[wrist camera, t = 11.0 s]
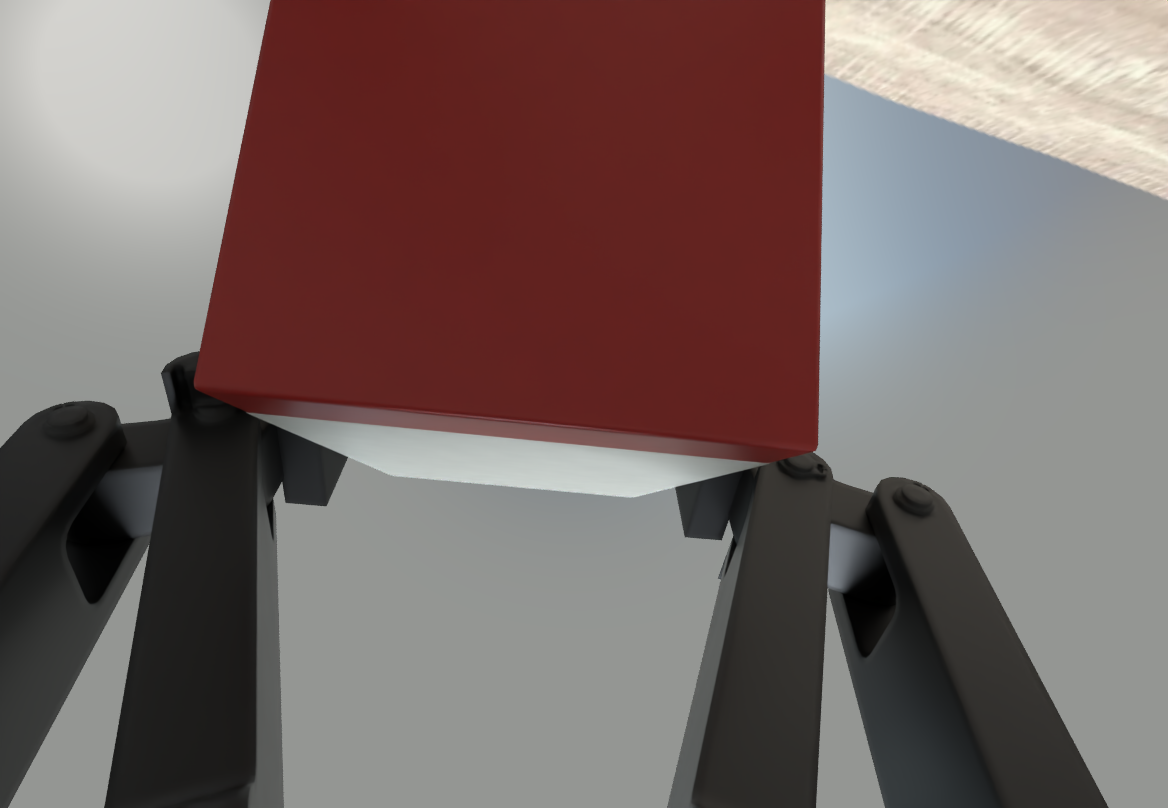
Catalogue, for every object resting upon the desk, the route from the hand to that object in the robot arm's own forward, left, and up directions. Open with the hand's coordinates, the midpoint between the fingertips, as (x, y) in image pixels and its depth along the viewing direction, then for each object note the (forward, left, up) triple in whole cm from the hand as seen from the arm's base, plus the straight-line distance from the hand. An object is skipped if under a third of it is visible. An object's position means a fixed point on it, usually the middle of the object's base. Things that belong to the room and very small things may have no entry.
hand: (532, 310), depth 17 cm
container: (-1, +3, -4) cm, 5 cm away
